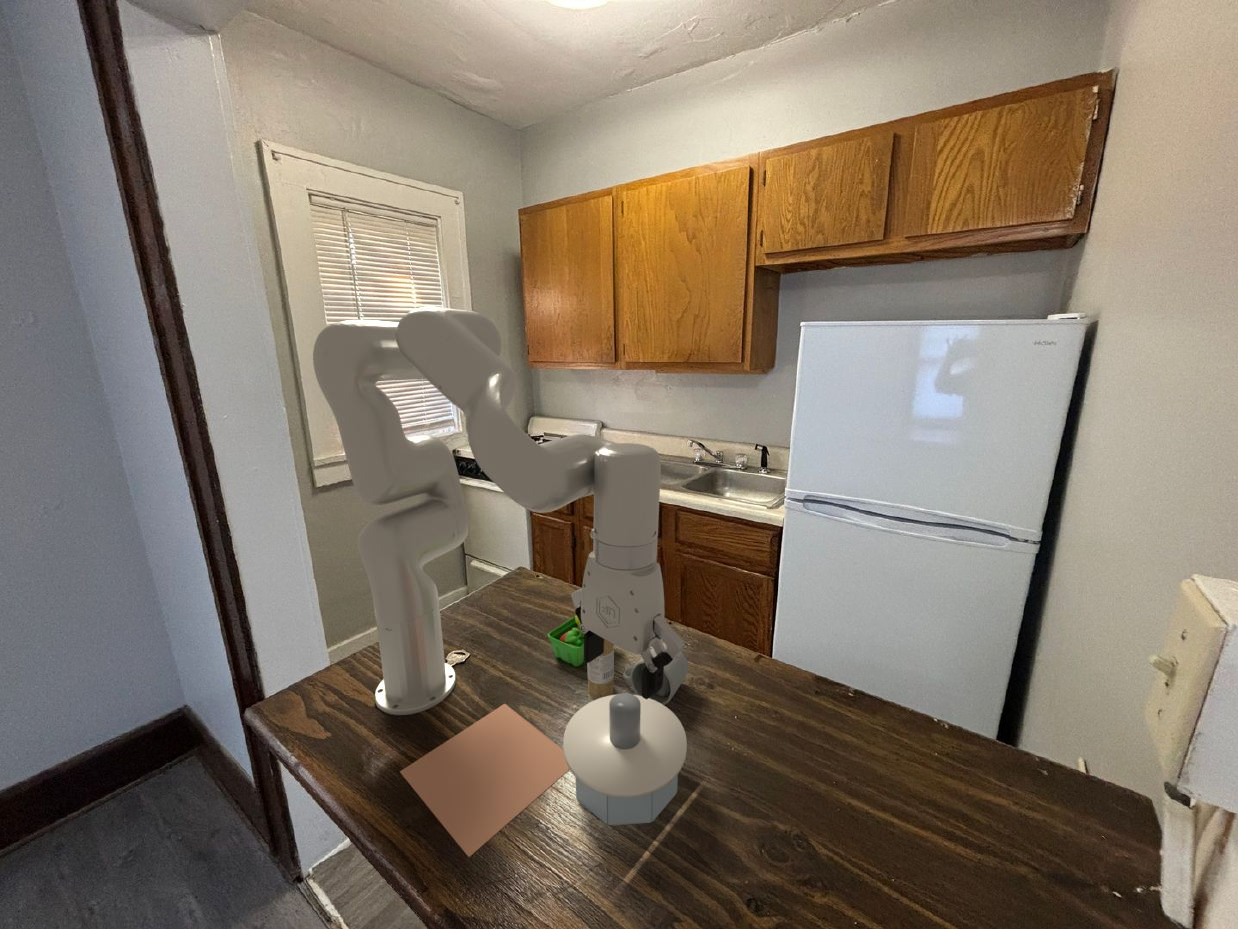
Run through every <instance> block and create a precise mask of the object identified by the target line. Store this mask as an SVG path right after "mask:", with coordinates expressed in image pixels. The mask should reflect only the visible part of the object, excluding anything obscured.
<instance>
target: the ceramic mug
mask: <svg viewBox="0 0 1238 929" xmlns="http://www.w3.org/2000/svg"><path fill="white" fill-rule="evenodd" d="M662 644H663V646H664V648H665V650H666V649H667V646H666V644H665V643H664V642H662ZM650 651H651V653H652V655H653V657H655V656H657V654H656V652H655V650H654V649H653V647H652V648H651V649H650ZM645 667H646V664H645V662H644V660H643V658H642V657H641V658H640V659H639V660H638V661H636V663H634V664H632V665H630V666H629V667H627V668H626V669H625V671H624V672H623V674H622V676H623V679H624V683H625V684H626V685H627V686H629V687H632V688H633V691H634V692H635V694H636V695H638V696H642V675H643V669H644V668H645ZM688 672H689V660H688V658H687V656H686V654H685V653H684V651H683V650H682V651H681V652H680V653H679V654H678V656H677V658H675V659H674V660H673V661H672V662H670V663H669V664H668V665H666V666H664V674H663V686H662V688H661V689H660V690H659V691H658V692H655V693H654V694H653V695H652V696H651V697H649V698H650V699H652V700H655V701H657V702H659V703H661V704H662V705H664V706H665V705H667V704H668V703H670V701H671V700H672V699H673V697H674V696H675V694H676V693H677V691H678V689H680V686H681V685H682V683H683V682H684V681H685V679H686V677H687V675H688Z"/></svg>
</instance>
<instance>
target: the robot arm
mask: <svg viewBox="0 0 1238 929" xmlns="http://www.w3.org/2000/svg"><path fill="white" fill-rule="evenodd" d="M312 351H313V352H312V362H313V363H312V364H313V369H314V375H315V378H316V381H317V384H318V385H319V388H320V390H321V392H322V394H323V396H324V398H325V400H326V402H327V403H328V405H329V407H330V410H331V411H332V413H333V416H334V418H335V421H336V424H337V427H338V431H339V436H340V439H341V443H342V447H343V451H344V454H345V458H346V462H347V466H348V469H349V472H350V478H351V480H352V483H353V486H354V489H355V493H356V494H357V496H358V497H359V499H360V500H361V501H362V502H363V503H365V504H367V505H370V506H374V507H375V506H376V507H377V506H385V505H389V504H393V503H397V502H400V501H403V500H406V499H410V498H413V497H416V496H418V499H419V501H420V502H417V503H414V504H412V505H411V504H410V505H407V506H404V507H401V508H398V509H396V510H392V511H389V512H387V513H384V514H382V515H380V516H378V517H376V518H374V519H372V520H371V521H369V522H368V523H367V524H366V525H365V526H364V527H363V528H362V530H361V531H360V533H359V535H358V539H357V548H358V553H359V557H360V558H361V561H362V564H363V567H364V569H365V572H366V576H367V578H368V582H369V586H370V592H371V597H372V603H373V605H372V606H373V611H374V615H375V623H376V624H375V625H376V632H377V637H378V639H377V640H378V645H379V654H380V661H381V662H380V663H381V668H382V678H383V679H382V680H381V681H380V683H379V684H378V686H377V687H376V688H375V693H374V701H375V704H376V707H377V708H378V709H379V710H380V711H382V712H384V713H385V714H388V715H394V716H406V715H414V714H417V713H420V712H424V711H426V710H430V709H431V708H433V707H434V706H437V705H438V704H440V703H441V702H442V701H444V700H445V699H446V698H447V697H448V696H449V695H450V694H451V693H452V691H453V689H455V685H456V682H457V679H456V678H457V677H456V671H455V669H454V668H453V666H451V665H450V664H448V663H446V662H445V660H446V659H445V652H444V641H443V632H442V631H443V629H442V620H441V611H440V608H441V607H440V601H439V593H438V588H437V584H436V583H435V581H434V580H433V579H432V577H430V576H429V575H428V574H427V573H426V572H425V571H424V565H426V564H427V563H429V562H431V561H432V560H433V559H436V558H439V557H440V556H442V555H445V554H446V553H449V552H452V550H454V549H456V548H459V546H461V545H462V544H463V543H464V542H465V540H466V539H467V537H468V533H469V529H470V528H469V517H468V512H467V511H468V510H467V507H466V502H465V498H464V493H463V489H462V484H461V481H460V476H459V472H458V467H457V465H456V461H455V457H454V456H453V453H452V452H451V450H450V448H448V447H449V446H447V445H446V444H445V442H444V441H442V440H441V439H439V438H437V437H435V436H433V435H427V434H425V435H423V434H421V435H415V436H414V435H413V436H409V437H407V436H406V435H405V432H404V429H403V425H402V420H401V417H400V413H399V410H398V408H397V407H396V405H395V404H394V403H393V401H392V400H391V399H390V397H389V396H388V395H387V394H386V393H385V392H384V391H383V390H382V389H381V388H380V387H378V386H377V385H376V383H378V382H389V381H409V380H427V381H428V382H429V383H430V384H431V385H432V386H433V387H435V388H436V389H437V390H438V391H439V392H440V394H442V395H443V396H444V397H445V398H446V399H447V400H448V401H449V402H450V403H451V404H452V405H453V406H454V407H455V408H456V409H457V410H458V411H459V412H460V413H461V414H462V415H463V416H464V417H465V433H466V438H467V441H468V445H469V447H470V448H469V449H470V450H471V454H472V456H473V458H474V460H475V462H476V463H477V465H478V467H479V468H480V470H481V471H482V472H483V473H484V475H486V476H487V478H489V479H490V481H491V482H493V483H494V484H495V485H496V486H497V487H498V488H499V489H500V490H501V491H502V492H503V493H504V494H505V495H506V496H508V497H509V498H510V499H511V500H512V501H513V502H515V503H516V504H518V505H519V506H521V507H522V508H524V509H527V510H529V511H530V512H533V513H540V514H541V513H542V514H543V513H551V512H554V511H556V510H559V509H562V508H563V507H565V506H567V505H569V504H570V503H572V502H574V501H576V500H578V499H582V498H585V497H587V496H592V495H593V528H592V529H591V531H590V533H589V536H590V538H591V539H593V540H592V541H593V548H592V549H593V550H592V551H590V553H589V554H588V557H587V561H586V564H585V569H584V572H583V573H584V574H583V581H582V588H579V589H576V590H575V591H573V592H571V594H570V596H571V597H570V598H571V599H572V603H573V606H574V608H575V610H574V612H575V616H576V615H577V617H578V619H579V621H580V623H581V625H580V630H581V632H582V633H584V634H585V635H584V662H585V663H589V662H591V661H592V660H594V659H595V658H597V657H598V656H600V655H601V654H603V652H604V639H605V640H607V641H609V642H611V643H613V646H614V645H615V646H616V647H618V648H620V649H622V650H624V651H625V652H627V653H630V654H631V655H635V656H636V655H641V658H643V660H644V662H645V664H646V667H645V668H644V669H643V675H642V697H643V698H645V699H646V700H647V699H648V698H649V697H651V696H652V695H653V694H654V693H655V692H658V691H659V690H660V689H661V688H662V686H663V674H664V666H666V665H668V664H669V663H670V662H672V661H673V660H674V659H675V658H677V656H678V654H679V653H680V652H681V651H683V649H684V648H685V646H686V643H685V641H684V640H683V639H682V638H681V636H679V634H678V633H677V632H676V631H675V630H674V629H673V628H672V627H671V626H670V625H669V623H667V622H666V621H665V594H664V593H665V592H664V582H663V576H662V568H661V565H660V563H659V562H657V559H658V558H657V556H658V538H659V537H658V536H659V515H660V514H659V512H660V497H661V496H660V493H661V473H662V472H661V471H662V470H661V469H662V461H661V460H662V459H661V456H660V454H659V452H658V451H657V450H656V449H655V448H653V447H651V446H648V445H646V444H641V443H633V442H632V443H631V442H621V443H620V442H614V441H611V440H608V439H604V438H601V437H599V436H594V435H591V434H585V433H583V434H582V433H578V434H572V435H569V436H565V437H562V438H556V439H553V440H549V441H545V442H542V443H538V442H536V441H535V440H534V439H532V437H531V436H530V435H528V434H527V432H525V431H524V430H523V429H522V428H520V426H519V425H518V424H517V423H516V422H515V421H514V420H513V419H512V418H511V417H510V415H509V413H508V412H507V411H506V409H507V408H508V407H509V405H510V404H511V402H512V401H513V398H514V397H515V396H516V395H515V394H516V393H517V389H518V386H519V385H518V384H519V381H518V376H517V374H516V372H515V370H514V369H513V368H512V367H511V366H510V365H509V364H508V363H507V362H506V361H504V360H503V359H502V358H501V357H500V355H501V352H502V340H501V335H500V333H499V330H498V329H497V326H496V325H495V324H494V323H493V321H491V320H490V319H489V318H488V317H487V316H485V315H483V313H480V312H478V311H477V312H476V311H474V310H465V309H457V308H448V307H447V308H446V307H440V306H423V307H418V308H415V309H412V310H410V311H408V312H407V313H406V314H404V315H403V316H402V317H401V319H399V321H398V322H396V321H384V320H372V319H352V320H342V321H341V320H340V321H337V322H334V323H331V324H330V325H327V326H326V327H324V328H323V329H321V331H320V332H319V334H318V335H317V337H316V340H315V342H314V346H313V350H312ZM661 640H662V641H661ZM662 643H665V644H666V646H667V649H666V650H665V648H664V646H663V644H662ZM651 647H652V648H653V649H654V650H655V652H656V654H657V656H655V657H653V655H652V653H651V651H650V650H651V649H650V648H651Z"/></svg>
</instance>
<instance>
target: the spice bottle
mask: <svg viewBox="0 0 1238 929" xmlns="http://www.w3.org/2000/svg"><path fill="white" fill-rule="evenodd" d="M614 651H615V649H614V644H613V643H611V642H609V641H607V640H605V639H604V652H603V654H601V655H600V656H598V657H597V658H595V659H594V660H592V661H591V662H589V663H587V662H586V663H587V666H586V667H587V668H586V669H587V685H588V686H587V694H588V696H589V697H590V698H592V699H593V700H597V699H599V698H602V697H606V696H610V695H614V693H615V688H614V677H615V658H614V656H615V652H614Z"/></svg>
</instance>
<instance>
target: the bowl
mask: <svg viewBox="0 0 1238 929" xmlns="http://www.w3.org/2000/svg"><path fill="white" fill-rule="evenodd" d="M678 775H679V773H678V774H677V776H676V777H675V778H674V779H673V780H672V781H671V782H670V783H669V784H667V785H666V786H665V787H663V788H661V789H659V790H658V791H656V792H653V793H650V794H648V795H644V796H640V797H632V798H620V797H612V796H608V795H604V794H601V793H598V792H596V791H594V790H592V789H590V788H588V787H587V786H585V785H584V784H582V783H581V782H580V781H579V780H578V779H577V778H576V777H575V796H576V800H577V801H579V802H580V804H582V805H583V806H584V807H585V808H587V810H589V811H590V812H591V813H592V814H593V815H595V816H596V817H597V819H600V820H601V821H602V822H603V823H604V824H605V825H606V826H607V825H608V826H617V825H618V826H620V825H635V824H649V823H652V822H654V821H655V820H656V818H658V816H659V815H660V814H661V812H662V811H663V810H664V809H665V808H666V806H667V805H668V804H669V803H670V802H671V801H672V799H674V797H675V796H676V795H677V793H678V780H679V776H678Z"/></svg>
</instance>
